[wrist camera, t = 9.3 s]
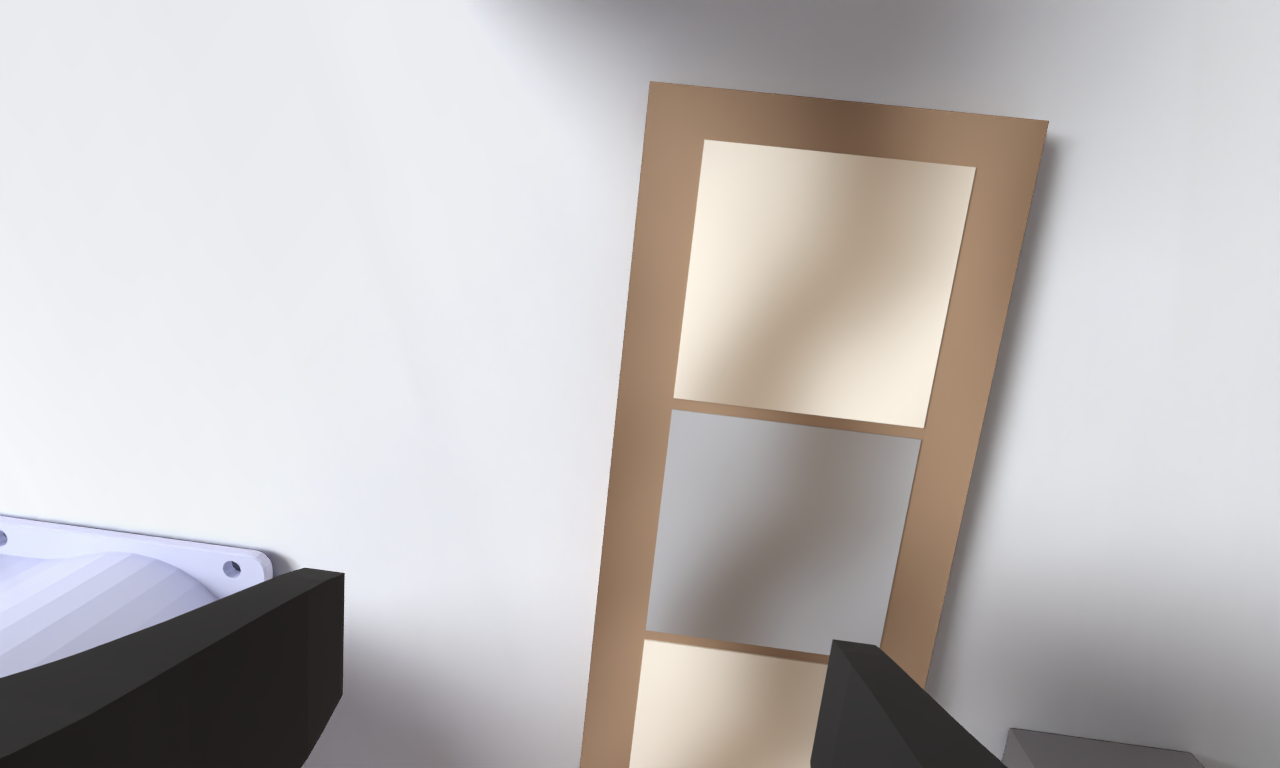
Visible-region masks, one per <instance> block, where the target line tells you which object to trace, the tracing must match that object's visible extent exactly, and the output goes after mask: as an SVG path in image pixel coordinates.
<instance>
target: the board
mask: <svg viewBox="0 0 1280 768" xmlns="http://www.w3.org/2000/svg"><path fill="white" fill-rule="evenodd" d="M1048 124H1049V121H1044V120H1034V119H1024V118H1014V117H1004V116H994V115H984V114H974V113H964V112H953V111H943V110H933V109H923V108H913V107H903V106H893V105H883V104H873V103H863V102H853V101H843V100H833V99H823V98H813V97H803V96H792V95H782V94H772V93H762V92H752V91H742V90H732V89H722V88H712V87H702V86H692V85H682V84H672V83H662V82H652V81H650V86H649V96H648V106H647V115H646V125H645V135H644V145H643V155H642V164H641V174H640V184H639V194H638V204H637V213H636V223H635V233H634V243H633V252H632V262H631V272H630V282H629V292H628V301H627V311H626V321H625V331H624V340H623V350H622V360H621V370H620V380H619V389H618V399H617V409H616V419H615V429H614V438H613V448H612V458H611V468H610V477H609V487H608V497H607V507H606V517H605V526H604V536H603V546H602V556H601V565H600V575H599V585H598V595H597V605H596V614H595V624H594V634H593V644H592V654H591V663H590V673H589V683H588V693H587V702H586V712H585V722H584V732H583V742H582V751H581V761H580V768H811V766H810V759H811V754H812V748H813V743H814V738H815V732H816V727H817V721H818V716H819V710H820V705H821V700H822V694H823V689H824V683H825V678H826V672H827V667H828V662H829V656H830V651H831V645H832V640H833V639H835V640H842V641H850V642H857V643H865V644H872V645H876V646H877V647H879V648H880V649H881V650H882V651H883V652H885V653H886V654H887V655H888V656H889V657H890V658H891V659H892V660H893V661H894V662H895V663H896V664H898V665H899V666H900V667H901V668H902V669H903V670H904V671H905V672H906V673H907V674H908V675H909V676H910V677H911V678H912V679H913V680H914V681H915V682H916V683H917V684H918V685H919V686H920V687H921V688H922V689H923V690H924V689H925V685H926V680H927V675H928V671H929V666H930V662H931V657H932V653H933V648H934V644H935V639H936V634H937V630H938V625H939V621H940V616H941V612H942V607H943V602H944V598H945V593H946V589H947V584H948V580H949V575H950V571H951V566H952V561H953V557H954V552H955V548H956V543H957V539H958V534H959V529H960V525H961V520H962V516H963V511H964V507H965V502H966V498H967V493H968V488H969V484H970V479H971V475H972V470H973V466H974V461H975V457H976V452H977V447H978V443H979V438H980V434H981V429H982V425H983V420H984V415H985V411H986V406H987V402H988V397H989V393H990V388H991V384H992V379H993V374H994V370H995V365H996V361H997V356H998V352H999V347H1000V343H1001V338H1002V333H1003V329H1004V324H1005V320H1006V315H1007V311H1008V306H1009V301H1010V297H1011V292H1012V288H1013V283H1014V279H1015V274H1016V270H1017V265H1018V260H1019V256H1020V251H1021V247H1022V242H1023V238H1024V233H1025V229H1026V224H1027V219H1028V215H1029V210H1030V206H1031V201H1032V197H1033V192H1034V187H1035V183H1036V178H1037V174H1038V169H1039V165H1040V160H1041V156H1042V151H1043V146H1044V142H1045V137H1046V133H1047V128H1048Z"/></svg>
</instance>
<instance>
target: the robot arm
mask: <svg viewBox="0 0 1280 768" xmlns="http://www.w3.org/2000/svg"><path fill="white" fill-rule="evenodd" d="M3 532H4V533H5V534H6V536H7V538H6V537H5V536H4V533H3ZM232 561H233V562H236V563H237V564H238V565H239V566H240V569H241V572H240V571H237V570H236V569H235V568H234V567H233V566H232ZM344 575H345V573H340V572H332V571H325V570H318V569H310V568H302V569H299V570H295V571H292V572H289V573H286V574H283V575H280V576H277V577H275V578H273V568H272V563H271V561H270V559H269V558H268V556H266V555H265V554H264V553H262V552H259V551H256V550H249V549H242V548H235V547H227V546H220V545H212V544H205V543H197V542H190V541H183V540H175V539H168V538H160V537H153V536H145V535H138V534H131V533H123V532H116V531H108V530H101V529H93V528H86V527H79V526H71V525H64V524H56V523H49V522H41V521H34V520H27V519H19V518H12V517H4V516H0V768H301V767H302V765H303V764H304V762H305V761H306V760H307V758H308V756H309V755H310V753H311V751H312V749H313V748H314V746H315V744H316V742H317V741H318V739H319V737H320V735H321V734H322V732H323V730H324V728H325V727H326V725H327V723H328V721H329V719H330V717H331V715H332V713H333V711H334V710H335V708H336V706H337V704H338V702H339V700H340V698H341V696H342V693H343V634H344ZM810 766H811V768H1008V767H1007V766H1006V765H1004V764H1003V763H1002V762H1001V761H1000V760H999V759H998V758H996V757H995V756H994V755H993V754H992V753H991V752H990V751H989V750H987V749H986V748H985V747H984V746H983V745H982V744H981V743H980V742H978V741H977V740H976V739H975V738H974V737H973V736H972V735H971V734H970V733H969V732H968V731H966V730H965V729H964V728H963V727H962V726H961V725H960V724H959V723H958V722H957V721H956V720H955V719H954V718H953V717H952V716H950V715H949V714H948V713H947V712H946V711H945V710H944V709H943V708H942V707H941V706H940V705H939V704H938V703H937V702H936V701H935V700H934V699H933V698H932V697H931V696H930V695H929V694H928V693H927V692H925V691H924V690H923V689H922V688H921V687H920V686H919V685H918V684H917V683H916V682H915V681H914V680H913V679H912V678H911V677H910V676H909V675H908V674H907V673H906V672H905V671H904V670H903V669H902V668H901V667H900V666H899V665H898V664H896V663H895V662H894V661H893V660H892V659H891V658H890V657H889V656H888V655H887V654H886V653H885V652H883V651H882V650H881V649H880V648H879V647H877V646H876V645H872V644H865V643H857V642H850V641H842V640H835V639H833V640H832V645H831V651H830V656H829V662H828V667H827V672H826V678H825V683H824V689H823V694H822V700H821V705H820V710H819V716H818V721H817V727H816V732H815V738H814V743H813V748H812V754H811V759H810Z"/></svg>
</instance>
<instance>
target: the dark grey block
mask: <svg viewBox="0 0 1280 768" xmlns="http://www.w3.org/2000/svg"><path fill="white" fill-rule="evenodd" d="M1002 763H1003V764H1004V765H1006V766H1007V767H1008V768H1205V767H1204V766H1203V765H1202V764H1201V763H1200V762H1199V761H1198V760H1197V759H1196V758H1195V757H1194V756H1193V755H1192V754H1191V753H1185V752H1178V751H1171V750H1164V749H1157V748H1149V747H1142V746H1135V745H1128V744H1121V743H1114V742H1106V741H1099V740H1092V739H1085V738H1078V737H1071V736H1063V735H1056V734H1049V733H1042V732H1035V731H1028V730H1020V729H1013V728H1010V731H1009V735H1008V739H1007V743H1006V746H1005V750H1004V754H1003V758H1002Z"/></svg>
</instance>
